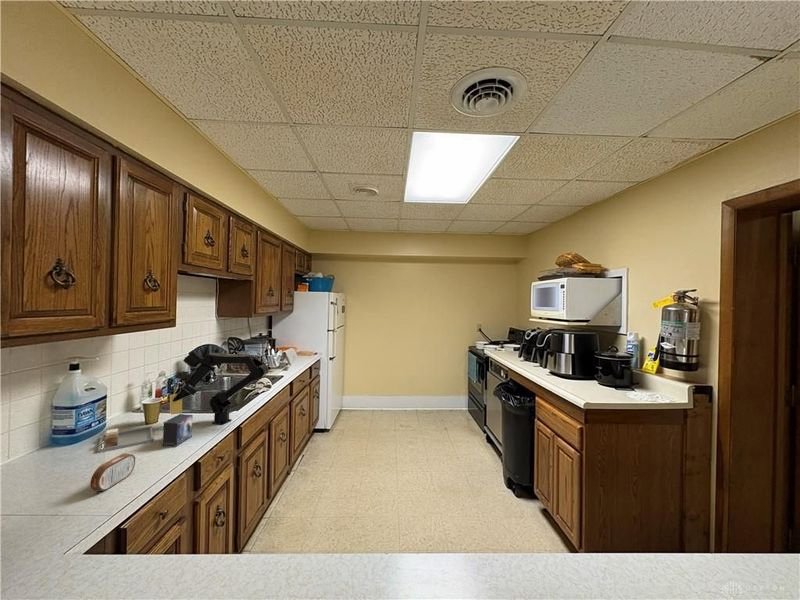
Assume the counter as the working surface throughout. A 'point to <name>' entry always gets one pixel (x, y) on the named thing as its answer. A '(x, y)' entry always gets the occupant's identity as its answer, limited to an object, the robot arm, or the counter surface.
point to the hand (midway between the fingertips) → (172, 400)
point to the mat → (162, 427)
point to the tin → (112, 472)
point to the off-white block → (112, 431)
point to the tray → (129, 438)
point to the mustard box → (175, 405)
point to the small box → (177, 430)
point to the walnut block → (111, 440)
